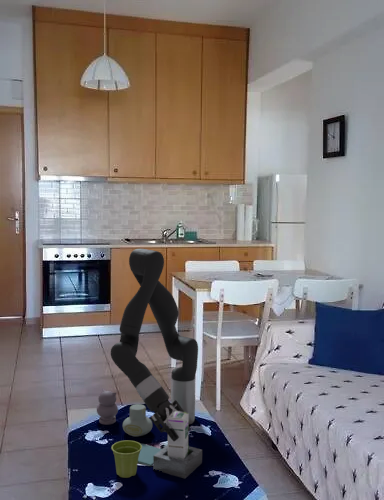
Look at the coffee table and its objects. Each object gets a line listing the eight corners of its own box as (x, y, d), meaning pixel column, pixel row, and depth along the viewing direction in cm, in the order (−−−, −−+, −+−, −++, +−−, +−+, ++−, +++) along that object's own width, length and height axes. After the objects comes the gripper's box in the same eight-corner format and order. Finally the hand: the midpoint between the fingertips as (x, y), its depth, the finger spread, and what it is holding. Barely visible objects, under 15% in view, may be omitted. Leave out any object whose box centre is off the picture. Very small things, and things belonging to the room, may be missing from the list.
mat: (141, 445, 189) (141, 443, 189) (168, 452, 184) (168, 450, 184) (122, 458, 179) (122, 456, 179) (150, 466, 174) (150, 464, 174)
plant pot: (114, 465, 174) (114, 439, 174) (143, 466, 174) (143, 440, 173) (108, 480, 165) (109, 453, 164) (139, 481, 165) (139, 454, 164)
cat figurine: (92, 421, 208) (92, 391, 207) (106, 415, 214) (106, 385, 213) (108, 427, 203) (108, 396, 202) (122, 420, 210) (122, 390, 208)
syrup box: (184, 463, 171) (185, 419, 170) (166, 460, 172) (167, 417, 171) (188, 454, 177) (189, 412, 175) (170, 452, 178) (171, 410, 177)
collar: (171, 454, 183) (171, 441, 182) (202, 462, 177) (202, 449, 177) (153, 469, 172) (153, 455, 172) (185, 478, 167) (185, 464, 167)
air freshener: (119, 435, 196) (119, 409, 195) (128, 426, 204) (128, 401, 203) (147, 440, 193) (147, 413, 192) (155, 430, 201) (155, 404, 200)
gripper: (147, 393, 170) (178, 437, 165) (170, 380, 182) (200, 421, 178) (133, 406, 173) (163, 450, 168) (156, 392, 185) (185, 433, 181)
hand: (182, 435), depth 173 cm, fingers closed on syrup box, 7 cm apart
